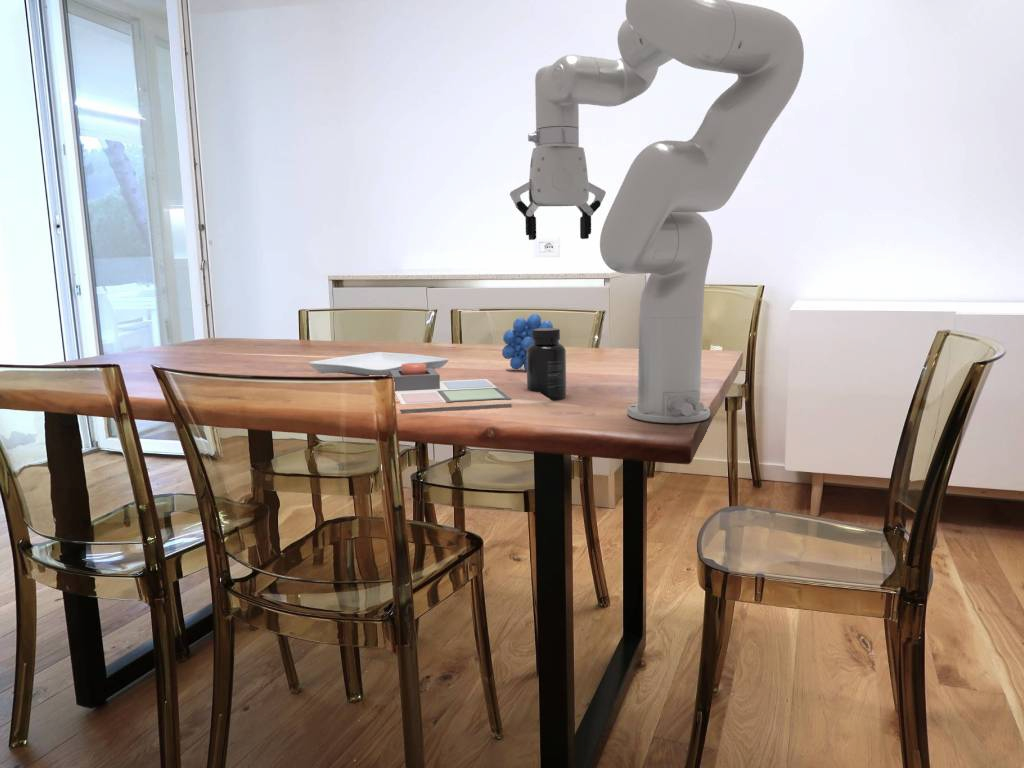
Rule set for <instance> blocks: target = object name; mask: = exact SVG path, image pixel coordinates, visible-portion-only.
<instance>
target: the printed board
mask: <svg viewBox="0 0 1024 768" xmlns="http://www.w3.org/2000/svg"><path fill="white" fill-rule="evenodd" d="M395 393H396V394H395ZM394 394H395V395H396V397H397V399H398V401H399V402H400V404H401V405H417V404H418V405H419V404H421V405H422V404H437V403H438V404H439V403H440V404H441V403H447V404H450V403H461V402H478V401H495V400H496V401H498V400H499V401H500V400H501V401H502V400H507V401H508V400H512V398H511V396H509V395H508V394H507V393H505V392H503V390H501V389H500V388H498V387H497V385H494V384H493V383H492V382H491V381H490V380H488V379H487V378H483V379H482V378H480V379H478V378H477V379H462V380H461V379H459V380H458V379H457V380H440V389H429V390H409V391H395V392H394ZM505 408H509V409H510V408H512V403H498V404H496V403H495V404H482V405H481V404H480V405H464V406H463V405H460V406H445V407H444V406H443V407H442V406H441V407H430V408H429V407H428V408H427V407H426V408H423V407H422V408H409V409H408V408H407V409H404V408H403V409H399V411H400V412H401V414H414V413H415V414H416V413H419V414H420V413H435V412H451V411H453V412H454V411H456V412H457V411H469V410H470V411H471V410H474V411H475V410H489V409H490V410H492V409H505Z"/></svg>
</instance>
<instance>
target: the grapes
mask: <svg viewBox="0 0 1024 768" xmlns="http://www.w3.org/2000/svg"><path fill="white" fill-rule="evenodd" d="M512 326H513V327H512V329H508V330H506V331H505V332H504V334H503V339H502V340H503V342H504V343H505V346H504V347H503V348H502V351H501V355H502V356H503V358H504V359H507V360H509V361H510V363H509V366H510V367H511V369H513V370H519V369H521V368H524V369H525V370H526V372H527V349H528V347H529V346H530V345H532V344H533V340H532V330H533V329H538V328H553V327H554V325H553V323H552V321H550V320H544V321H542V318H541V316H540V315H539V314H538V313H537V314H536V313H533V314H531V315H529V317H528V318H527V319H526V318H524V317H518V318H516V319H515V320H514V321H513V323H512Z"/></svg>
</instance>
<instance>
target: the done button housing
mask: <svg viewBox="0 0 1024 768" xmlns="http://www.w3.org/2000/svg"><path fill="white" fill-rule="evenodd" d="M388 376H389V377H390V376H393V378H394V382H395V391H409V390H429V389H440V381H441V379H440V377H441V375H440V373H438V371H437V370H435V368H426V374H420V375H402V371H401V370H389V375H388Z"/></svg>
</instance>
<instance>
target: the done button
mask: <svg viewBox="0 0 1024 768" xmlns="http://www.w3.org/2000/svg"><path fill="white" fill-rule="evenodd" d="M401 371H402V375H420V374H426V364H424V363H406V364H402V365H401Z"/></svg>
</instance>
